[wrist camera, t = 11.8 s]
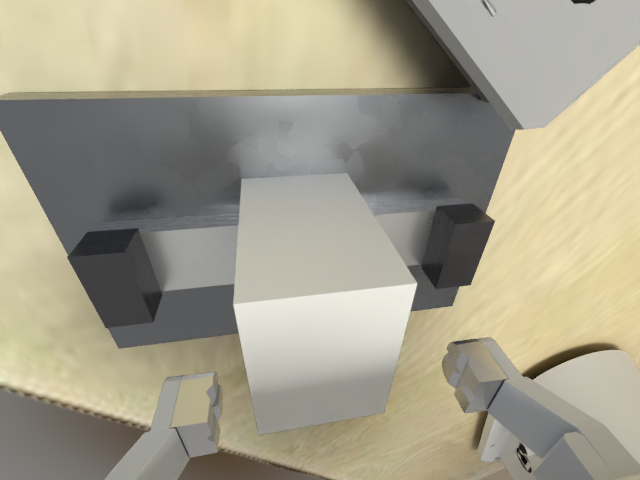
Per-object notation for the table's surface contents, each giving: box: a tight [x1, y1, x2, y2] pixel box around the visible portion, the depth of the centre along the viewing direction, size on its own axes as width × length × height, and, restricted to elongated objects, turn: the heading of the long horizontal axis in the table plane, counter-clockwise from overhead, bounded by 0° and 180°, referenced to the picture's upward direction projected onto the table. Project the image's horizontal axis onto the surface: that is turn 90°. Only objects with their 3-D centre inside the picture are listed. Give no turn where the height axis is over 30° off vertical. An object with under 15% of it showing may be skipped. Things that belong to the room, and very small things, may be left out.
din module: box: [233, 173, 417, 435], centre depth 14 cm, size 8×5×8 cm, turn 179°
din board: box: [0, 88, 515, 348], centre depth 16 cm, size 14×22×4 cm, turn 89°
